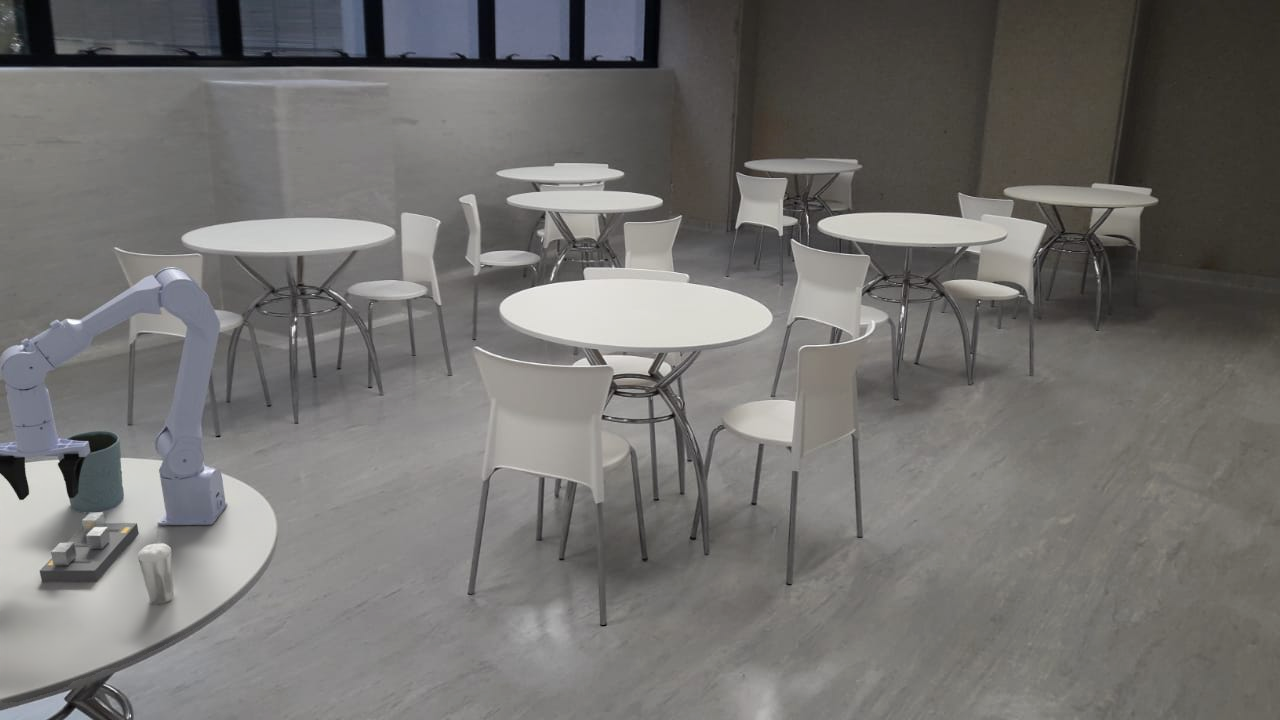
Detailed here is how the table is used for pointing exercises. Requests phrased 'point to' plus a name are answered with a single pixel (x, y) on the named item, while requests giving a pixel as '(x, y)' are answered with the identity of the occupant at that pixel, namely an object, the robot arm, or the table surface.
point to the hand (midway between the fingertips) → (49, 496)
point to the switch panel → (91, 556)
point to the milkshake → (157, 571)
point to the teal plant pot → (99, 473)
